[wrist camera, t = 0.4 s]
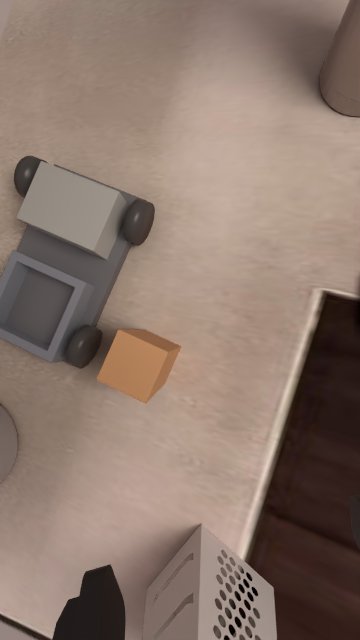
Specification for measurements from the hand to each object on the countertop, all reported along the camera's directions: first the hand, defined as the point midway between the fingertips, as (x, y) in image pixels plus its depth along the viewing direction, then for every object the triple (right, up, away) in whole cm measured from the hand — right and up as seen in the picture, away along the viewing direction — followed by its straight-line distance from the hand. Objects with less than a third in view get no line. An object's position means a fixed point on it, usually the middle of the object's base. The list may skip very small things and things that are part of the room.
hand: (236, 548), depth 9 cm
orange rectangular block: (-5, +3, +27) cm, 27 cm away
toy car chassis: (-16, +14, +28) cm, 36 cm away
